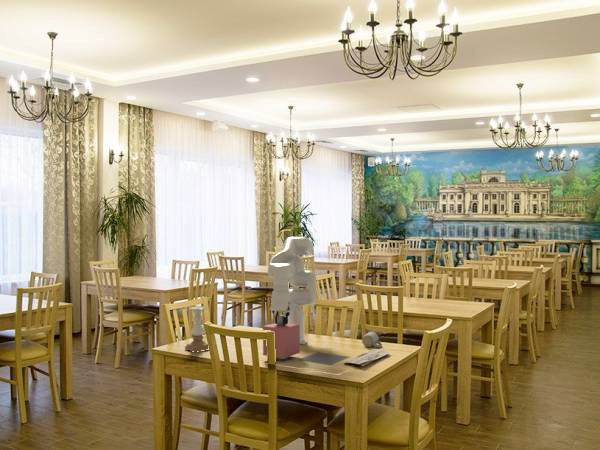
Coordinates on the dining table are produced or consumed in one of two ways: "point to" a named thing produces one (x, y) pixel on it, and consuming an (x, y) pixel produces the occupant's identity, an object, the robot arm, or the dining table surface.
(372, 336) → the ceramic mug
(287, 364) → the dining table surface
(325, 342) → the dining table surface
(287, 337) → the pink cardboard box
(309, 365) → the dining table surface
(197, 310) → the candle holder
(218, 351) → the dining table surface
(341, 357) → the mat
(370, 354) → the newspaper
